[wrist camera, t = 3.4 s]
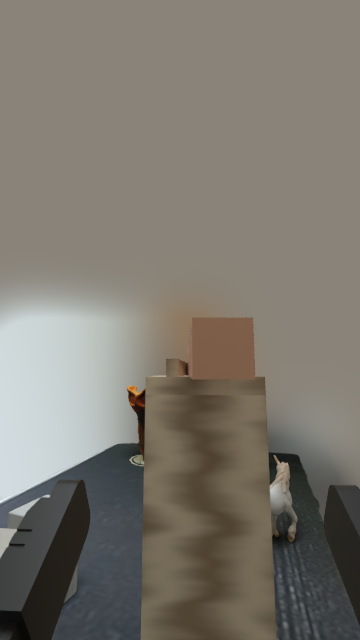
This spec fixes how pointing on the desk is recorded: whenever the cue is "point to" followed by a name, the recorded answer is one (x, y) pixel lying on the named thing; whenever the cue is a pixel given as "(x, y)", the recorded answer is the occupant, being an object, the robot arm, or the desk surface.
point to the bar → (221, 349)
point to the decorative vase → (139, 407)
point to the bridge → (206, 510)
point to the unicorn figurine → (282, 499)
